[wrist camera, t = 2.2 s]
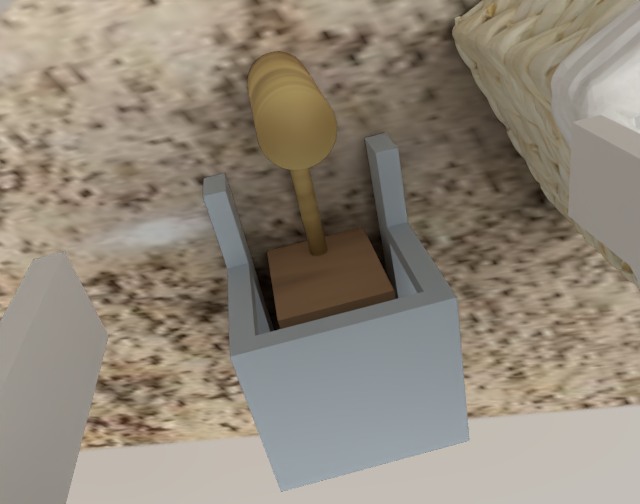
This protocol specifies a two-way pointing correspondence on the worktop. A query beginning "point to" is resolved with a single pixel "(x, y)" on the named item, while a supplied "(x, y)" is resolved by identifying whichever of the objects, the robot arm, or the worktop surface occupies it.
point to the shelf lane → (348, 352)
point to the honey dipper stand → (309, 200)
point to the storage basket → (555, 80)
